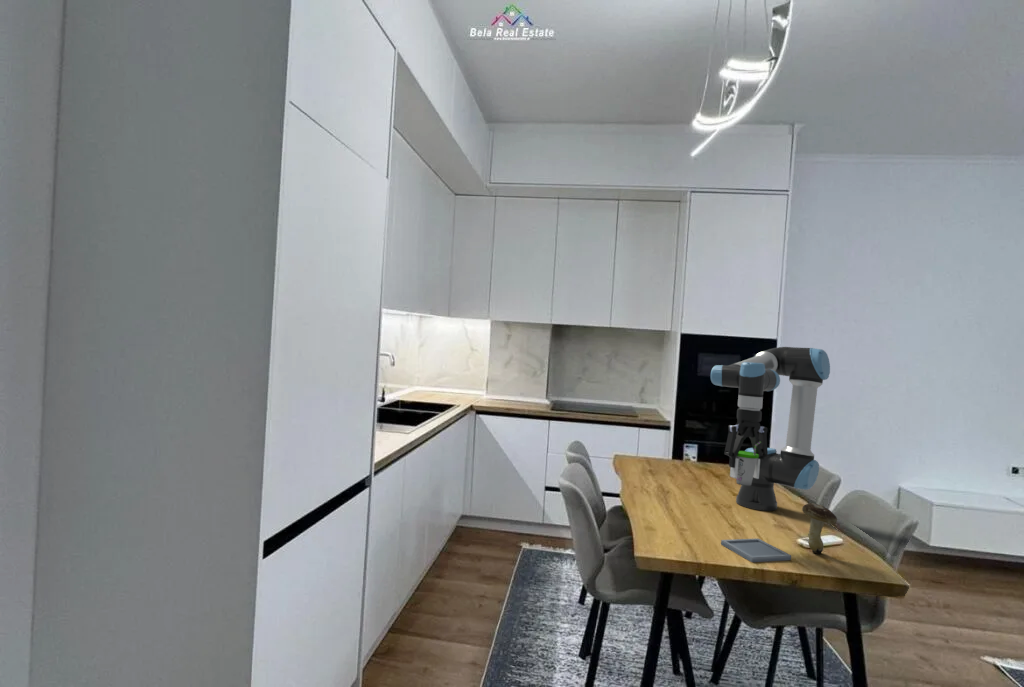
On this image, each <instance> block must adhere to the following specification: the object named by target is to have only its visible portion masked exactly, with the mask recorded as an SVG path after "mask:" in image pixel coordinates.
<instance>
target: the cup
mask: <svg viewBox="0 0 1024 687" xmlns="http://www.w3.org/2000/svg"><path fill="white" fill-rule="evenodd" d="M760 443H761V441H759V442H758V443H757V444H756V445H755V446H754V453H753V452H747V451H745V450H739V453H738V455H737V457H736V458H738V459H739V460H738V473H737V478H735V479H736V481H735V482H736V484H738V485H739V486H741V485H744V486H751V484H752V480H753V475H754V471H755V466H756V462H757V458H759V455H758V454H756V446H757V445H758V444H760Z"/></svg>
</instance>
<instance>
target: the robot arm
mask: <svg viewBox="0 0 1024 687" xmlns="http://www.w3.org/2000/svg"><path fill="white" fill-rule="evenodd" d="M830 373H831V364H830V359H829V355H828V353H827V352H826V350H824V349H821V348H814V347H794V346H793V347H792V346H781V347H773V348H769V349H766V350H763V351H760V352H758V353H756V354H755V355H754V356H753V357H749V358H747V359H744V360H742V361H738V362H734V363H731V364H729V365H725V364H724V365H723V364H721V365H719V364H718V365H717V364H715V365H714V366H713V367H712V368H711V371H710V381H711V383H712V384H713V385H715V386H719V387H722V388H723V387H727V388H738V397H737V398H738V399H737V407H738V408H737V410H736V419H737V420H736V421H737V422H736V424H735V425H731V424H729V425H728V427H727V428H728V433H727V439H726V443H725V448H724V453H723V454H724V455H725V456H727V457H729V461H728V462H729V463H728V467H729V468H730V472H729V477H731V478H733V479H736V478H737V473H738V460H739V459H738V458H736V457H737V455H738V453H739V451H741V448H742V446H743V443H744V441H745V440H746V439H747V438H749V440H750V442H751V446H752V447H748V448H746V449H745V450H744V451H747V452H753V453H754V446H755V445H756V444H757V443H758V442H759V441H761V443H760V444H758V445H757V446H756V454H758V455H759V458H757V462H756V466H755V471H754V475H753V480H752V484H751V486H744V485H740V488H739V490H738V494H737V495H736V497H735V498H736V500H735V503H736V504H737V505H740V506H741V507H744V508H747V509H752V510H758V511H765V512H767V511H770V512H771V511H776V510H777V509H778V501H777V497H776V492H775V490H774V489H775V488H774V487H775V484H777V485H781V486H785V487H789V488H794V489H797V490H799V489H800V490H805V491H808V490H810V489H812V487H813V486H814V485H815V483H816V481H817V479H818V476H819V471H820V464H819V461H818V460H815V454H814V453H813V452H812V450H811V449H812V442H813V441H812V439H813V431H814V421H815V413H816V403H817V395H818V388H820V387H821V386H822V385H823V384H824V383H823V381H825V380H828V379H829V377H830ZM780 376H783V377H784V376H785V377H789V379H788V382H789V383H791V384H792V388H791V389H792V390H791V398H790V406H789V414H788V424H787V431H786V440H785V446H784V447H783V448H781V449H780V453H777V449H775V448H773V447H768V438H767V437H768V427H766V426H763V425H761V423H760V422H761V421H762V415H763V412H762V409H763V405H764V404H763V402H764V401H763V399H764V392H771V391H774V390H776V389H777V388H778V387H779V386H780V383H781V378H780Z"/></svg>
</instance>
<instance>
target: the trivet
mask: <svg viewBox="0 0 1024 687" xmlns="http://www.w3.org/2000/svg"><path fill="white" fill-rule="evenodd" d="M720 541H721V542H720V545H721V546H723V547H725V548H726V549H728V550H730V551H732V552H733V553H735V554H737V555H738V556H740V557H742V558H744V559H745V560H747V561H749V562H750V563H758V562H759V563H760V562H761V563H762V562H778V561H779V562H780V561H791V560H792V555H791V554H789V553H788V552H785V551H783V550H781V549H780V548H778V547H776V546H774V545H772V544H770V543H768V542H766V541H764V540H762V539H760V538H741V539H739V538H737V539H735V538H734V539H733V538H732V539H721V540H720Z"/></svg>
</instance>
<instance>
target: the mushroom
mask: <svg viewBox="0 0 1024 687" xmlns="http://www.w3.org/2000/svg"><path fill="white" fill-rule="evenodd" d="M801 511H802V513H803V514H804V515H806V516H807V517H809V518H810V524H809V530H808V533H807V536H808V542H807V543H808V547H809V549H810V550H811V552H812V553H814V554H816V555H821V554H822V552H823V550H824V542H823V539H822V538H821V537H822V536H821V534H822V530H823V529H824V525H825V523H826V524H829V525H835V524H837V522H838V521H837V520H838V519H837V518H838V517H837V516H836V515H835V514H834V512H832V511H831V510H830V509H828V508H827V507H825V506H824V505H821V504H819V503H818V504H817V503H812V502H809V503H806V504H804V505H803V506H802V510H801Z"/></svg>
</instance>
